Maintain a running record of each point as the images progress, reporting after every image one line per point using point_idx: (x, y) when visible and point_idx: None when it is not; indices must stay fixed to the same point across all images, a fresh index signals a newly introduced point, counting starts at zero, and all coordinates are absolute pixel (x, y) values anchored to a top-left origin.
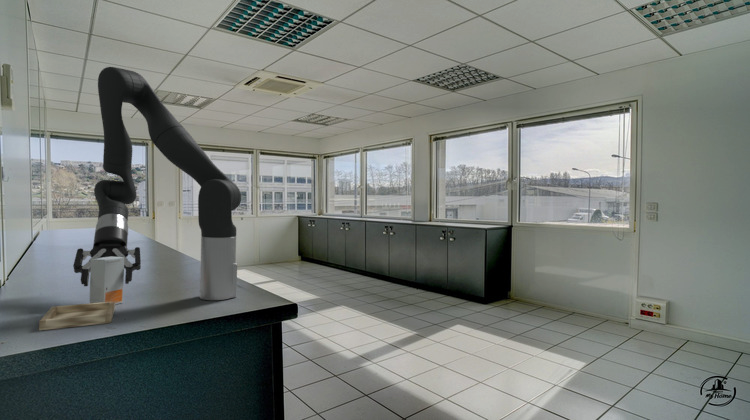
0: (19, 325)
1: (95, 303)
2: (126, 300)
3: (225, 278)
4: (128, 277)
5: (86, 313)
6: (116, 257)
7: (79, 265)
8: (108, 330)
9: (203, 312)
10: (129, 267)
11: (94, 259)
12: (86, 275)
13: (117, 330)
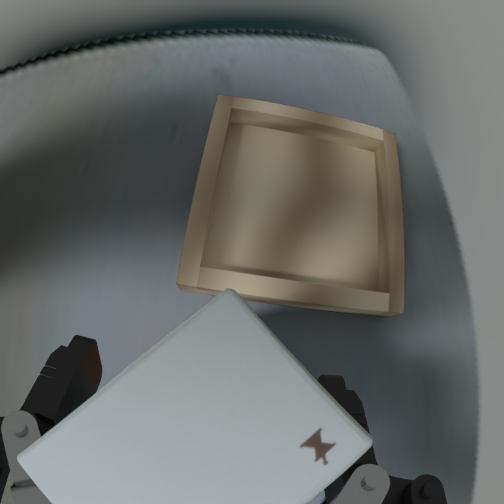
0: (437, 230)
1: (257, 285)
2: None
3: None
4: (71, 342)
5: (285, 241)
6: (85, 482)
7: (409, 496)
8: (230, 64)
9: (3, 112)
10: (30, 417)
11: (343, 416)
12: None
13: (212, 56)
